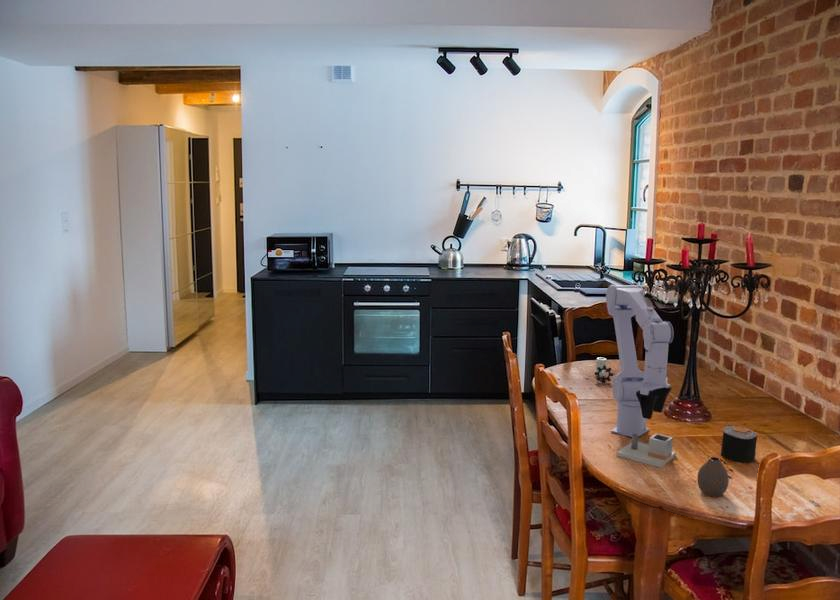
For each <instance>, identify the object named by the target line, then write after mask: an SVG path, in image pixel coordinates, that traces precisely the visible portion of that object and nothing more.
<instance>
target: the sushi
mask: <svg viewBox="0 0 840 600" xmlns="http://www.w3.org/2000/svg"><path fill="white" fill-rule="evenodd" d="M724 427H725V428H722V431H723V432H722V440H721V451H720V456H721V457H723V459H724V458H725V459H726V460H729V461H733V462H735V463H740V464H750V463H753V461H755V459H756V449H757V440H758V432H757V431H756V432H755V431H754V430H753V429H750V428H747V427H742V426H735V425H730V426H724Z"/></svg>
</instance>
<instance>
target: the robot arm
mask: <svg viewBox="0 0 840 600" xmlns="http://www.w3.org/2000/svg"><path fill="white" fill-rule="evenodd" d="M605 301H606V309H607V312H608V315H610V316H611V317H612V318H613V324H614V330H615V336H616V337H615V338H616V343H617V351H618V358H619V365H620V371H619V372H618V373H617V374H615V375H614V376H613V379H612V395H613V399H614V400H615V401H616V402H617V417H616V426H615V427H614V428H612V429H610V432H611V433H614V434H619V435H622V436H626V437H630V438H632V434H638V438H639V437H641V436H642V435H643V434H645V433H646V432H648V431H650V428H649V427H647V419H648V420H651V419H652V416H653V412H655V413H656V412H657V413H662V412H663V410H664V408H665V407H664V406H665V403H666V400H667V398H668V396H669V394H670V392H672V391H671V390H672V387H671V384H670V383H669V377H667V373H668V372H667V370H668V357H669V356H668V355H669V346H670V345H669V344H671V343H673V340H674V331H675V330H674V327H673V325H672V323H671V322H670V321H667V320H664V321H663V319H662V318H661V317H660V315H659V314H658V313H657V311H656V310H655V309H654V308H653V306H648V305H647V303H646V301H645V291H644V288H643V287H642V285H640V284H636V285H633V284H629V285H628V284H627V285H626V284H623V285H622V284H618V285H616V284H609V285H608V287H607V289H606V293H605ZM633 316H635V321H636V322H637V324H638V326H639V327H640V328H641V330H642V337H643V343H644V344H643V347H644V349H645V355H644V357H645V358H644V367H643V368H644V370H643V371H642V370H641V369H639V365H638V357H637V351H636V345H635V337H634V332H633V324H632V317H633Z"/></svg>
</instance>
